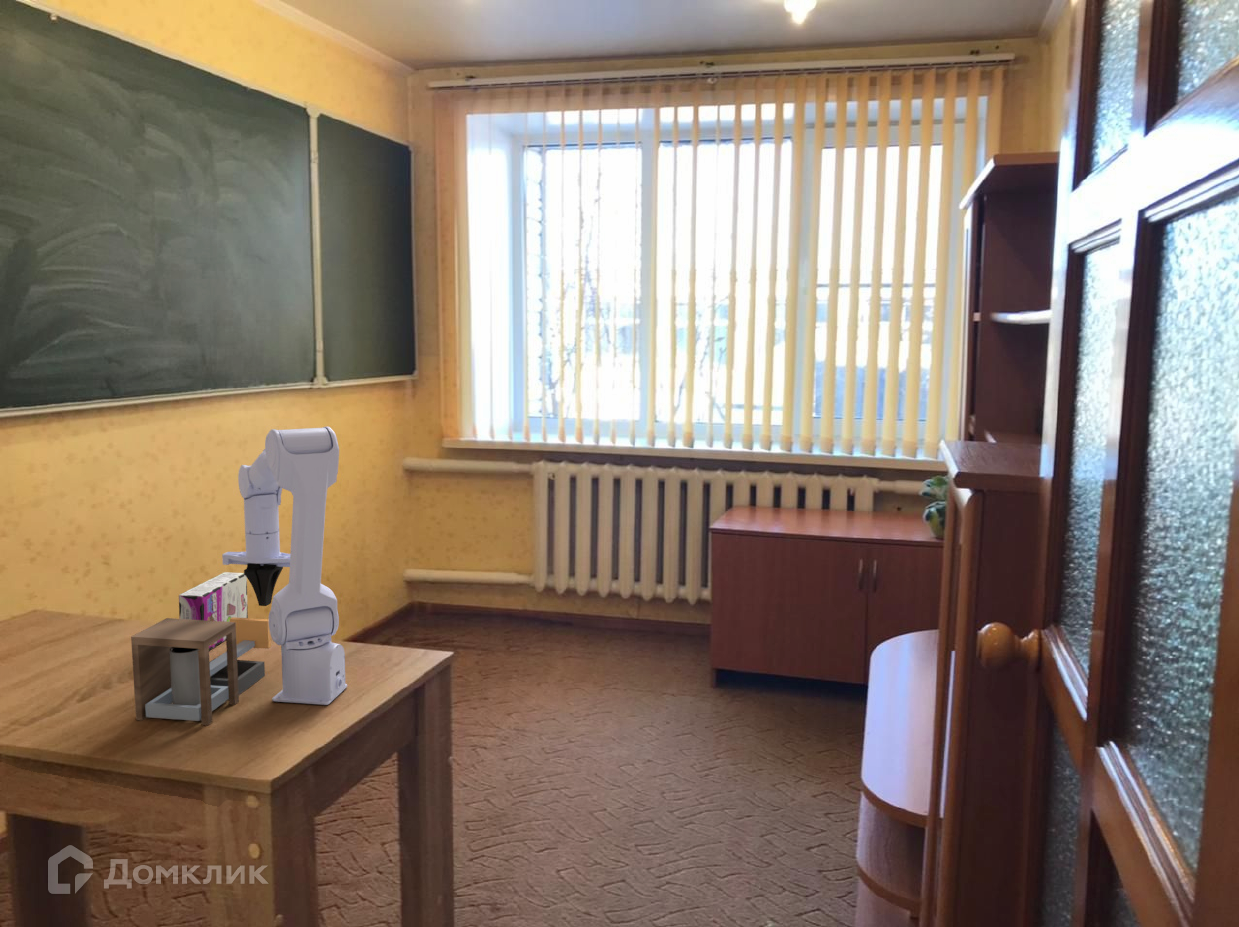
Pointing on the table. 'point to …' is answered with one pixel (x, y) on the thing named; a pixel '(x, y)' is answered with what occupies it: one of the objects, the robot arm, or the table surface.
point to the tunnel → (155, 659)
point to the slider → (247, 637)
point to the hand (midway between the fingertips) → (265, 604)
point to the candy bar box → (216, 600)
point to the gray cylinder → (185, 676)
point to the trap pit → (240, 674)
